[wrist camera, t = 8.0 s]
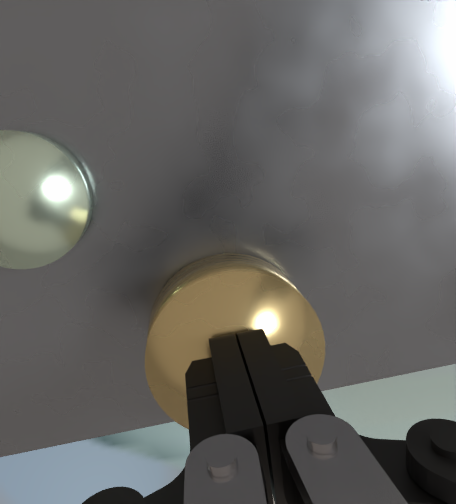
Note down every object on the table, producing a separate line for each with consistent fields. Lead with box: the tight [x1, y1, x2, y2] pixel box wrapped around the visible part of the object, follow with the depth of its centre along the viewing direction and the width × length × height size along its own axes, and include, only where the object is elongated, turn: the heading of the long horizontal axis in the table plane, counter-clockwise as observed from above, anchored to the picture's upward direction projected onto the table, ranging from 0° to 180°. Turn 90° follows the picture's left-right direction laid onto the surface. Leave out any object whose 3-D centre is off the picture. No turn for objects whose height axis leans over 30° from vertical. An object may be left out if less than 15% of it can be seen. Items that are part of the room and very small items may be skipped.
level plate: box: [0, 0, 456, 457], centre depth 11 cm, size 22×16×4 cm
